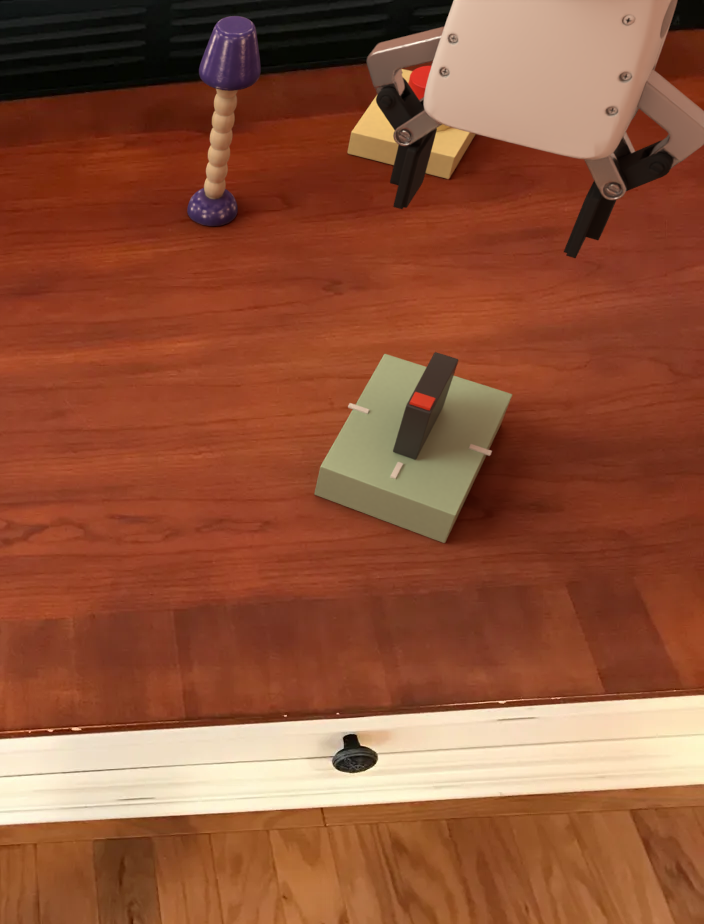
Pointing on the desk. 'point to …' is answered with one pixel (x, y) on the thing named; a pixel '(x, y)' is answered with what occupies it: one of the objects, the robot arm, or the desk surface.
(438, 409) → the black rectangular block
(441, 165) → the button block
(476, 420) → the panel
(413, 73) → the button
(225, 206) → the toy lamp
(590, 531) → the desk surface
